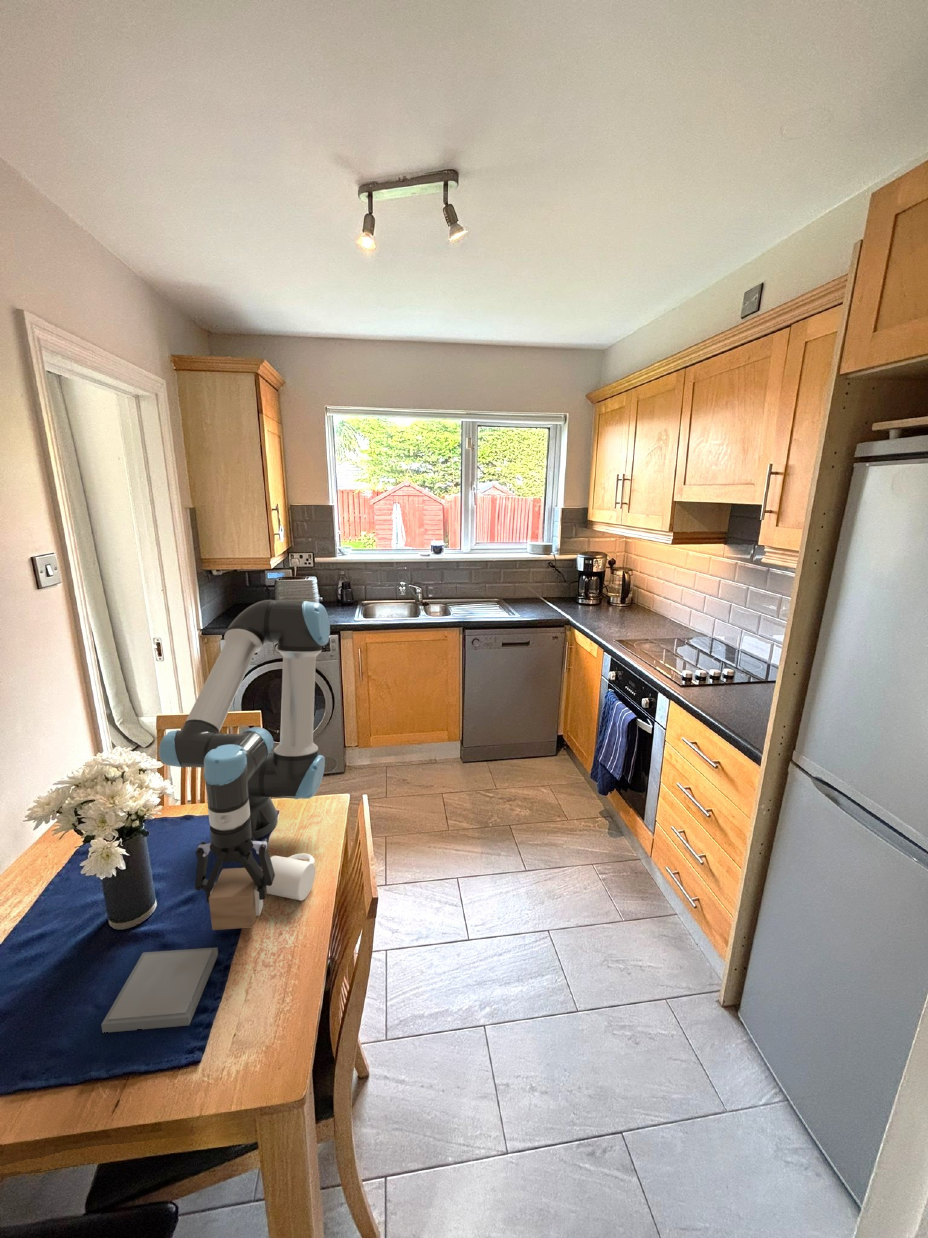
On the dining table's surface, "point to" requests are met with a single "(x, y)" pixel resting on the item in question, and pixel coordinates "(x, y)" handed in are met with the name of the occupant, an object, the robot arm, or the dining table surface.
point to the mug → (292, 876)
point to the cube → (233, 900)
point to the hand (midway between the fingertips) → (238, 911)
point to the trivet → (161, 990)
